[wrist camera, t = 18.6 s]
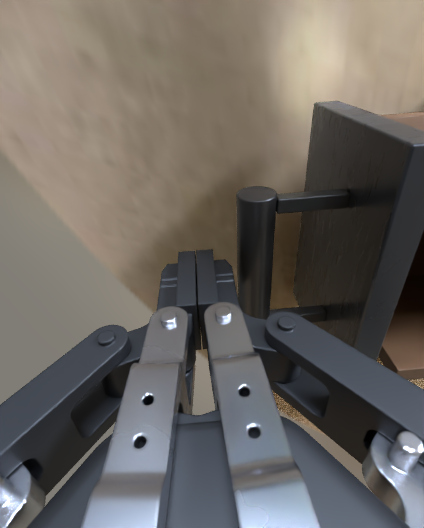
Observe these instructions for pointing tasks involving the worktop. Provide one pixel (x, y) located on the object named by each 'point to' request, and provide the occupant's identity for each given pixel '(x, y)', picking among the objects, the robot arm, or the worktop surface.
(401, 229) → the drawer
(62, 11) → the worktop surface
